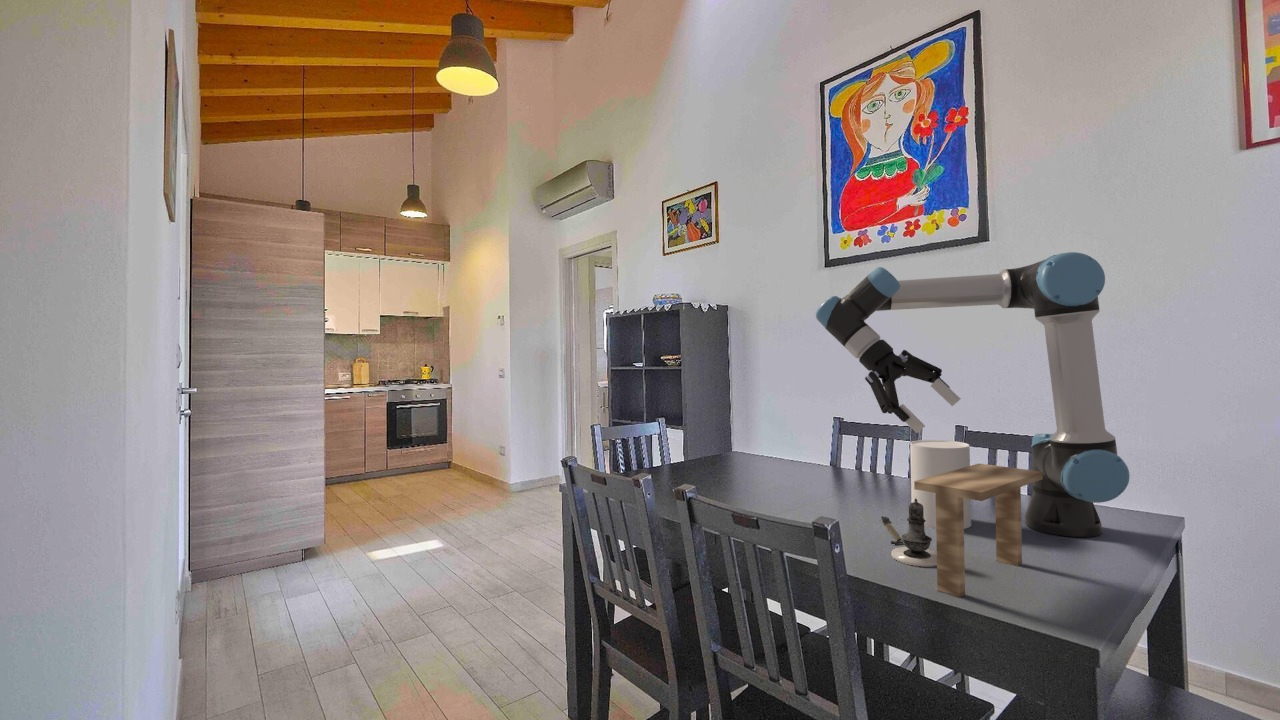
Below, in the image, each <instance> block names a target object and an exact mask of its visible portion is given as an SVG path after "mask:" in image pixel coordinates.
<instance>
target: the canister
mask: <svg viewBox="0 0 1280 720" xmlns="http://www.w3.org/2000/svg"><path fill="white" fill-rule="evenodd" d="M909 445H910V446H909V448H910V455H909V456H910V492H911V493H910V494H911V497H910V498H911V502H910V503H913V502H915V501H914V500H915V498H916V499H917V500H918V501H917V502H918V503H920V504H922V505H923V512H924V519H925V520H926V521H925V522H924V527H927V528H930V527H931V528H932V529H936V495H935V493H933V492H927V491H922V490H916V489H914V481H917V480H921V479H925V478H928V477H932V476H935V475H939V474H943V473H946V472H950V471H954V470H957V469H961V468H964V467H968V466H971V459H970V458H971V455H970V450H971V447H970V446H971V445H970V444H969V443H966V442H962V441H954V440H943V439H942V440H941V439H921V440H914V441H913V440H912V441H910V443H909ZM971 500H972V499H967V498H963V511H964V530H966V529H968V528H970V527H971V526H972V507H971V506H972V505H971V504H972V503H971V502H972V501H971Z"/></svg>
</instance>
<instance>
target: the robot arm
mask: <svg viewBox="0 0 1280 720" xmlns="http://www.w3.org/2000/svg"><path fill="white" fill-rule="evenodd" d="M1105 284H1106V274H1105V271H1104V269H1103V266H1101V264H1100V263H1099V262H1098V261H1097V260H1096V259H1095V258H1093V257H1092V256H1090V255H1088V254H1086V253H1082V252H1074V251H1073V252H1070V251H1069V252H1062V253H1058V254H1053V255H1051V256H1049V257H1047V258H1046V259H1045V258H1044V259H1043V260H1040V261H1037V262H1035V263H1033V264H1029V265H1025V266H1021V267H1017V268H1016V267H1015V268H1006V269H1002V270H1001V271H999V273H995V274H994V273H993V274H991V273H990V274H980V275H966V276H965V275H964V276H963V275H962V276H949V277H936V278H921V279H920V278H919V279H906V280H905V279H904V280H903V279H902V280H898V279H897V278H896V277H895V276H894V275H893V274H892V273H891V272H890V271H889V270H888V269H886V268H884V267H883V266H882V267H881V266H878V267H876V268H874V270H872V271H871V272H870V273H868V274H867V275H866V276H865V277H864V278H863V280H861V281H860V282H859V283H858V284H857V285H856V286H855V287H854V288H853V289H852V290H851V291H850V292H849V293H848V294H846V295H844V297H842V298H841V297H839V296H837V295H833V296H831V297H830V296H829V298H828V299H826V300H825V301H824V302H823V303H821V305H820V306H819V307H818V309H817V310H816V313H815V317H816V320H817V321H818V322H819V323H820V325H822V327H824V329H825V330H826V331H827V332H828V333H829V334H830V335H831V336H832V337H834V338H835V340H836V341H837V342H839V343H840V345H842V346H843V347H844V348H845V349H846V350H847V351H848V352H849V353H850V354H851V355H852V356H853V357H854V358H855V359H858V362H859V363H860V364H861V365H862V366H863V367H864V368H865V369H866V370H867V371H869V372H868V374H867V375H866V376H865V377H864V379H865V381H866V382H867V383H868V385H869V386H870V388H871V391H872V392H873V394H874V396H875V400H876V401H877V403H878V406H879V408H880V410H881V412H882V414H890V415H891V414H894V415H896V417H897V418H898V419H899V420H900V421H901V422H903V423H906V424H907V425H908V426H909V427H910V428H911V430H913V431H914V432H915V433H916V434H918V433H919V432H920V431H921V430H923V428H925V427H926V425H925V424H924V423H923V422H922V421H921V420H920V419H919V418H918V417H917V416H916V415H915V414H914V413H913V412H912V411H911V410H910V409H909V408H908V407H907V406H906V405H905V404H904V403H902V404H900V403H899V396H898V393H897V389H896V380H898V379H900V378H902V377H910V378H913V379H916V380H919V381H920V380H921V381H923V382H927V383H930V387H931V388H932V389H933V390H934V391H935V392H936V393H937V394H938V395H940V397H942V398H943V399H944V400H945V401H946V402H947V403H948V404H949V405H950V406H951V407H954V405H956V404H957V403H958V402H960V400H961V399H962V398H960V397H959V396H958V395H957V393H955V392H954V391H953V390H952V389H951V387H950V385H948V384H947V382H945V381H944V379H942V378H941V376H942V372H943V370H942V368H941V367H938V366H936V365H934V364H931V363H929V362H927V361H925V360H923V359H921V358H919V357H917V356H915V355H913V354H912V353H910V352H909V351H908V350H906V349H903V350H902V351H901V352H900V353H899V354H898V355H897V354H895V353H894V348H893V347H892V346H891V345H890V344H889V343H888V342H887V341H886V340H885V339H882V338H881V336H880V334H878V333H877V332H876V331H875V329H873V328H872V327H871V326H869V324H867V323H866V320H867V319H868V318H869V317H871V316H872V315H873V314H874V313H875V312H880V311H881V312H883V311H895V310H899V311H900V310H913V309H914V310H915V309H916V310H917V309H932V308H934V309H935V308H938V309H939V308H954V307H975V306H995V305H999V306H1000V308H1002V309H1033V312H1034V318H1035V319H1034V320H1036V321H1038V323H1040V324H1042V325H1043V326H1044V334H1045V344H1046V352H1047V359H1048V360H1047V361H1048V367H1049V368H1048V369H1049V375H1050V383H1051V385H1050V386H1051V392H1052V399H1053V400H1052V401H1053V409H1054V410H1053V411H1054V417H1055V424H1056V425H1055V427H1056V431H1055V432H1054V433H1036V434H1034V435H1033V436H1032V439H1031V441H1032V442H1031V445H1030V448H1031V462H1032V466H1031V467H1032V469H1031V470H1034V471H1041V472H1043V479H1042V480H1039V481H1036V482H1033V483H1032V495H1031V498H1030V501H1029V504H1028V505H1027V509H1026V512H1025V513H1024V523H1025V526H1027V527H1029V528H1030V529H1033V530H1036V531H1039V532H1042V533H1046V534H1050V535H1056V536H1063V537H1073V538H1074V537H1075V538H1091V537H1097V536H1100V535H1102V534H1103V533H1102V532H1103V527H1102V525H1103V524H1102V521H1101V519H1100V516H1099V514H1098V512H1097V509H1096V506H1095V504H1094V503H1096V504H1099V503H1106V502H1109V501H1112V500H1114V499H1116V498H1118V497H1119V496H1120V495H1121V494H1122V493H1124V492H1125V490H1126V489H1127V487H1128V485H1129V483H1130V470H1129V468H1128V465H1127V464H1126V462H1125V461H1124V460H1123V458H1121V456H1119V455H1118V449H1117V442H1116V437H1115V436H1114V435H1113V434H1111V432H1110V431H1107V429H1106V424H1105V416H1104V409H1103V407H1104V406H1103V401H1102V392H1101V386H1100V384H1101V383H1100V376H1099V375H1100V374H1099V370H1098V368H1099V367H1098V359H1097V351H1096V350H1097V349H1096V345H1095V336H1094V327H1093V319H1094V318H1095V317H1096V316H1097V315H1098V314H1099V313H1100V312H1101V311H1100V303H1099V295H1101V293H1102V291H1103V290H1104V287H1105Z"/></svg>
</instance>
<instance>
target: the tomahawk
mask: <svg viewBox="0 0 1280 720" xmlns="http://www.w3.org/2000/svg"><path fill="white" fill-rule="evenodd" d="M880 517H881V520H882V524H883V523H884V524H883V525H884V527H885V526H886V527H887V528H888V529H887V528H886V527H885V528H886V529H887V530H888V532H889V531H890V532H891V533H890V532H889V533H890V534H892V535H893V536H894V537H893V536H892V535H891V536H892V537H893V539H894V538H895V539H896V540H897V541H896V540H895V539H894V540H895V541H893V540H891V541H890V544H891V545H892V544H895V545H894V546H902V545H905V544H904V543H903V539H902V537H901V536H900V535H899V534H898V532H897V531H896V529H895V528H894V526H893V525H892V524H891V523H890V522H891V521H890V518H889V517H887V516H883V515H881V516H880ZM889 523H890V524H891V525H890V524H889ZM896 544H897V545H896ZM899 544H900V545H899Z"/></svg>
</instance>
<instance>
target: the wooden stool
mask: <svg viewBox="0 0 1280 720" xmlns="http://www.w3.org/2000/svg"><path fill="white" fill-rule="evenodd" d="M1042 479H1043V472H1041V471H1034V470H1032V469H1025V468H1019V467H1018V468H1017V467H1009V466H1001V465H993V464H986V463H985V464H984V463H975V464H972V465H970V466H968V467H964V468H961V469H957V470H954V471H950V472H946V473H943V474H939V475H935V476H932V477H928V478H925V479H921V480H917V481H914V489H916V490H922V491H927V492H933V493H935V495H936V528H935V531H936V532H935V533H936V535H935V536H936V537H935V538H936V541H935V543H936V552H937V566H936V573H937V574H936V579H937V580H936V582H937V583H936V587H937V591H938V592H942V593H945V594H948V595H951V596H954V597H957V598H961V597H963V596H965V595H966V571H965V570H966V569H965V568H966V567H965V566H966V565H965V564H966V563H965V529H964V511H963V498H967V499H971V500H972V501H977V502H978V501H979V502H983V501H986V500H989V499H990V498H991V499H992V498H995V499H994V501H995V508H994V509H995V548H996V549H995V551H996V552H995V553H996V561H997V562H1000V563H1003V564H1004V563H1005V564H1009V565H1013V566H1017V567H1019V566H1021V565H1022V564H1023V552H1022V551H1023V548H1022V547H1023V544H1022V543H1023V542H1022V541H1023V540H1022V537H1023V536H1022V498H1021V497H1022V493H1021V492H1022V491H1021V489H1022V487H1025V486H1027V485H1030V484H1033V482H1036V481H1039V480H1042Z"/></svg>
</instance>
